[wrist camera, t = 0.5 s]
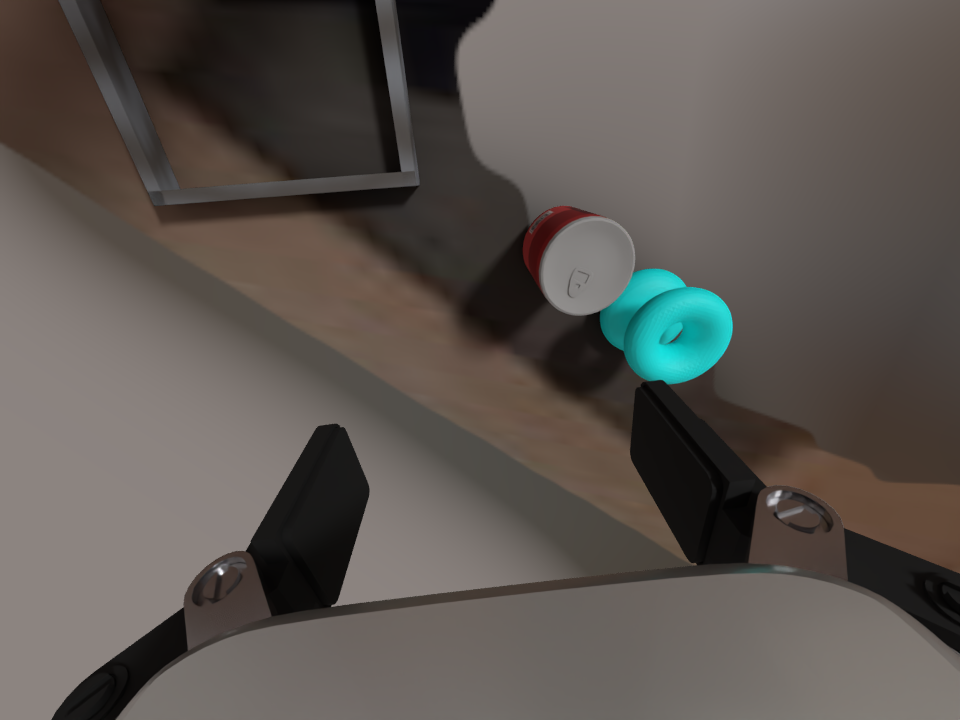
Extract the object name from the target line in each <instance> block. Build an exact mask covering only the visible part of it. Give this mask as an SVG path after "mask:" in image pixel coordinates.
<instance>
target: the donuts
mask: <svg viewBox="0 0 960 720" xmlns="http://www.w3.org/2000/svg"><path fill="white" fill-rule="evenodd" d="M600 324H601V329H602V332H603V334H604V336H605V337H606V339H607V340H608V341H609V342H610V343H611V344H612V345H613V346H615V347H617V348H618V349H620V350H623V351H624V354H625V357H626V360H627V362H628V364H629V366H630V367H631V368H632V370H633V371H634V372H635V373H636V374H638V375H639V376H640V377H642V378H644V379H646V380H648V381H655V380H663V381H664V382H666V384H676V383H681V382H685V381H688V380H691V379H693V378H695V377H697V376H699V375H701V374H702V373H704V372H706V371H707V370H708V369H710V368H711V367H712V366H713V365H714V364H715V363H716V362H717V361H718V360H719V358H720V357H721V356H722V355H723V353H724V352H725V350H726V348H727V347H728V344H729V342H730V339H731V336H732V330H733V323H732V317H731V313H730V311H729V308H728V307H727V305H726V304H725V303H724V302H723V300H722V299H721V298H720V297H718V296H717V295H715V294H714V293H712V292H710V291H708V290H705V289H701V288H695V287H686V285H685V284H684V282H683V281H682V280H681V279H680V278H679V277H678V276H676V275H675V274H673V273H671V272H668V271H666V270H662V269H644V270H640V271H636V272H634V273H633V274H632V277H631V279H630V281H629V283H628V285H627V287H626V288H625V290H624V291H623V293H622V294H621V295H620V296H619V297H618V298H617V299H616V300H615V301H614V302H613V303H612V304H610V305H609V306H608V307H606V308H604V309H602V310H601V311H600ZM682 328H683V331H682V333H681V335H680V336H679V337H678V338H677V340H675V341H674V342H672V343H670V344H667V343H669V342H670V341H671V340H673V339H674V338H675V337H676V336H677V335H678V334H679V332H680V331H681V330H682ZM666 344H667V345H666Z"/></svg>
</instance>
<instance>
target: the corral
mask: <svg viewBox="0 0 960 720" xmlns="http://www.w3.org/2000/svg"><path fill="white" fill-rule="evenodd" d="M58 1H59V3H60V5H61V7H62V9H63V11H64V14H65V16H66V18H67V20H68V22H69V24H70V26H71V29H72V31H73V33H74V35H75V37H76V39H77V41H78V44H79V46H80V48H81V50H82V52H83V54H84V56H85V59H86V61H87V63H88V65H89V67H90V69H91V71H92V74H93V76H94V78H95V80H96V82H97V84H98V86H99V89H100V91H101V93H102V95H103V97H104V99H105V101H106V104H107V106H108V108H109V110H110V112H111V114H112V116H113V119H114V121H115V123H116V125H117V127H118V129H119V131H120V134H121V136H122V138H123V140H124V142H125V144H126V146H127V149H128V151H129V153H130V155H131V157H132V159H133V161H134V164H135V166H136V168H137V170H138V172H139V174H140V176H141V179H142V181H143V183H144V185H145V187H146V189H147V191H148V194H149V196H150V198H151V200H152V202H153V204H154V206H160V205H173V204H186V203H199V202H212V201H225V200H238V199H250V198H263V197H276V196H289V195H302V194H315V193H328V192H340V191H353V190H366V189H379V188H392V187H405V186H417V185H420V182H419V174H418V167H417V159H416V152H415V144H414V137H413V129H412V122H411V114H410V107H409V99H408V92H407V84H406V77H405V69H404V62H403V55H402V47H401V40H400V32H399V25H398V17H397V10H396V2H395V0H375V2H376V9H377V15H378V22H379V28H380V35H381V41H382V48H383V54H384V61H385V67H386V74H387V80H388V87H389V93H390V100H391V106H392V113H393V119H394V126H395V132H396V139H397V146H398V152H399V159H400V165H401V172H394V173H381V174H368V175H355V176H342V177H329V178H316V179H304V180H291V181H278V182H265V183H252V184H239V185H227V186H214V187H201V188H188V189H180V187H179V185H178V182H177V180H176V178H175V175H174V173H173V171H172V168H171V166H170V164H169V161H168V159H167V157H166V154H165V152H164V150H163V147H162V145H161V142H160V140H159V138H158V135H157V133H156V131H155V128H154V126H153V124H152V121H151V119H150V117H149V114H148V112H147V110H146V107H145V105H144V103H143V100H142V98H141V95H140V93H139V91H138V88H137V86H136V84H135V81H134V79H133V77H132V74H131V72H130V70H129V67H128V65H127V63H126V60H125V58H124V56H123V53H122V51H121V48H120V46H119V44H118V41H117V39H116V37H115V34H114V32H113V30H112V27H111V25H110V23H109V20H108V18H107V16H106V13H105V11H104V9H103V6H102V4H101V1H100V0H58Z"/></svg>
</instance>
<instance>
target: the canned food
mask: <svg viewBox="0 0 960 720" xmlns="http://www.w3.org/2000/svg"><path fill="white" fill-rule="evenodd" d="M523 258H524V262H525V264H526V266H527V268H528V270H529V272H530V274H531V275H532V277H533V279H534V280H535V282H536V283H537V285H538V287H539V288H540V290H541V292H542V293H543V295H544V296H545V297H546V299H547V300H548V301H549V302H550V304H552V305H553V306H554V307H555V308H557V309H558V310H560V311H562V312H564V313H566V314H570V315H588V314H593V313H595V312H598V311H601V310H602V309H604V308H606V307H608V306H609V305H610V304H612V303H613V302H614V301H615V300H616V299H617V298H618V297H619V296H620V295H621V294H622V293H623V291H624V290H625V288H626V287H627V285H628V283H629V281H630V279H631V277H632V274H633V270H634V265H635V251H634V246H633V243H632V240H631V238H630V236H629V235H628V233H627V231H626V230H625V229H624V228H622V227H621V226H620V225H619V224H618V223H616V222H614V221H613V220H611V219H608V218H606V217H603V216H600V215H597V214H594V213H590V212H587V211H584V210H580V209H577V208H573V207H570V206H559V207H554V208H552V209H549V210H547V211H545V212H544V213H542V214H541V215H539V216H538V217H537V218H536V219H535V220H534V221H533V223H532V224H531V226H530V227H529V229H528V231H527V233H526V235H525V239H524V243H523Z"/></svg>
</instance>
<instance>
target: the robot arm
mask: <svg viewBox="0 0 960 720" xmlns="http://www.w3.org/2000/svg"><path fill="white" fill-rule="evenodd" d="M630 455H631V459H632V462H633V464H634V466H635V467H636V469H637V471H638V473H639V474H640V476H641V478H642V480H643V482H644V483H645V485H646V487H647V489H648V490H649V492H650V494H651V496H652V497H653V499H654V501H655V503H656V504H657V506H658V508H659V510H660V511H661V513H662V515H663V517H664V519H665V520H666V522H667V524H668V526H669V527H670V529H671V531H672V533H673V534H674V536H675V538H676V540H677V541H678V543H679V545H680V547H681V549H682V550H683V552H684V554H685V556H686V557H687V559H688V560H689V561H690V562H691V563H696V564H697V566H687V567H675V568H665V569H654V570H645V571H644V570H643V571H634V572H625V573H616V574H607V575H597V576H589V577H580V578H570V579H562V580H552V581H544V582H535V583H526V584H517V585H508V586H500V587H492V588H483V589H474V590H466V591H456V592H448V593H439V594H431V595H424V596H415V597H406V598H399V599H391V600H382V601H373V602H366V603H358V604H349V605H342V606H336V607H331V605H333V604H335V603H336V602H337V600H338V598H339V595H340V591H341V588H342V585H343V581H344V578H345V574H346V571H347V568H348V564H349V561H350V558H351V555H352V551H353V547H354V544H355V541H356V538H357V534H358V531H359V527H360V524H361V521H362V518H363V514H364V511H365V508H366V504H367V501H368V498H369V485H368V482H367V480H366V477H365V475H364V472H363V470H362V468H361V465H360V463H359V460H358V458H357V456H356V453H355V451H354V448H353V446H352V443H351V441H350V439H349V436H348V434H347V432H346V430H345V428H344V427H341V428H340V426H339V425H338V424H329V425H323V426H318V427H317V428H316V430H315V431H314V433H313V435H312V437H311V438H310V440H309V442H308V443H307V445H306V447H305V448H304V450H303V452H302V454H301V455H300V457H299V459H298V460H297V462H296V464H295V466H294V467H293V469H292V471H291V473H290V474H289V476H288V478H287V480H286V481H285V483H284V485H283V486H282V488H281V490H280V491H279V493H278V495H277V497H276V498H275V500H274V502H273V503H272V505H271V507H270V509H269V510H268V512H267V514H266V515H265V517H264V519H263V521H262V522H261V524H260V526H259V527H258V529H257V531H256V533H255V534H254V536H253V538H252V540H251V543H250V545H249V546H248V548H247V550H246V552H245V551H235V552H232V553H228V554H226V555H224V556H222V557H220V558H218V559H216V560H215V561H213V562H212V563H211V564H209V565H208V566H206V567H205V568H204V569H203V570H202V571H201V572H200V573H199V574H198V575H197V576H196V577H195V579H194V580H193V581H192V583H191V584H190V586H189V587H188V590H187V592H186V594H185V597H184V607H183V608H182V609H181V610H179V611H178V612H177V613H175V614H174V615H172V616H171V617H169V618H168V619H167V620H165V621H164V622H163V623H161V624H160V625H158V626H157V627H156V628H154V629H153V630H152V631H150V632H149V633H148V634H146V635H145V636H143V637H142V638H140V639H139V640H138V641H136V642H135V643H134V644H132V645H131V646H129V647H128V648H127V649H126V650H124V651H123V652H121V653H120V654H118V655H117V656H116V657H115V658H113V659H112V660H110V661H109V662H107V663H106V664H105V665H103V666H102V667H100V668H99V669H98V670H96V671H95V672H94V673H93V674H91V675H90V676H89V677H88V678H86V679H85V680H84V681H83V682H81V683H80V684H79V685H78V686H77V687H76V688H75V689H74V691H73V692H72V693H71V694H70V695H69V696H68V697H67V698H66V699H65V701H64V702H63V703H62V705H61V706H60V707H59V709H58V710H57V711H56V712H55V714H54V716H53V718H52V720H960V574H959V573H957V572H954V571H952V570H949V569H946V568H944V567H941V566H939V565H936V564H934V563H931V562H929V561H926V560H924V559H921V558H918V557H916V556H913V555H911V554H908V553H906V552H903V551H901V550H898V549H896V548H893V547H891V546H888V545H885V544H883V543H880V542H878V541H875V540H873V539H870V538H868V537H865V536H863V535H860V534H858V533H855V532H852V531H850V530H847V529H845V528H844V526H843V523H842V520H841V518H840V516H839V515H838V514H837V513H836V511H835V510H834V509H833V508H832V507H831V506H829V505H828V504H827V503H826V502H825V501H823V500H822V499H820V498H818V497H817V496H815V495H813V494H811V493H809V492H806V491H804V490H801V489H798V488H794V487H790V486H782V485H774V486H769V487H766V486H765V484H764V483H763V482H762V481H761V480H760V479H759V478H758V477H757V476H756V475H755V474H754V473H753V472H752V471H751V470H750V469H749V468H748V466H747V465H746V464H745V463H744V462H743V461H742V460H741V459H740V458H739V457H738V456H737V455H736V454H735V453H734V452H733V451H732V450H731V449H730V447H729V446H728V445H727V444H726V443H725V442H724V441H723V440H722V439H721V438H720V437H719V436H718V435H717V434H716V433H715V432H714V431H713V430H712V428H711V427H710V426H709V425H708V424H707V423H706V422H705V421H703V420H702V419H700V418H698V417H697V416H696V415H695V413H694V412H693V411H692V410H691V409H690V408H689V407H688V406H687V405H686V404H685V403H684V402H683V401H682V400H681V398H680V397H679V396H678V395H677V394H676V393H675V392H674V391H673V390H672V389H671V388H670V387H669V386H668V385H667V384H666V382H664V381H663V380H655V381H648V382H643V383H642V384H641V387H638V388H636V391H635V401H634V412H633V424H632V435H631V447H630Z"/></svg>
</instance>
